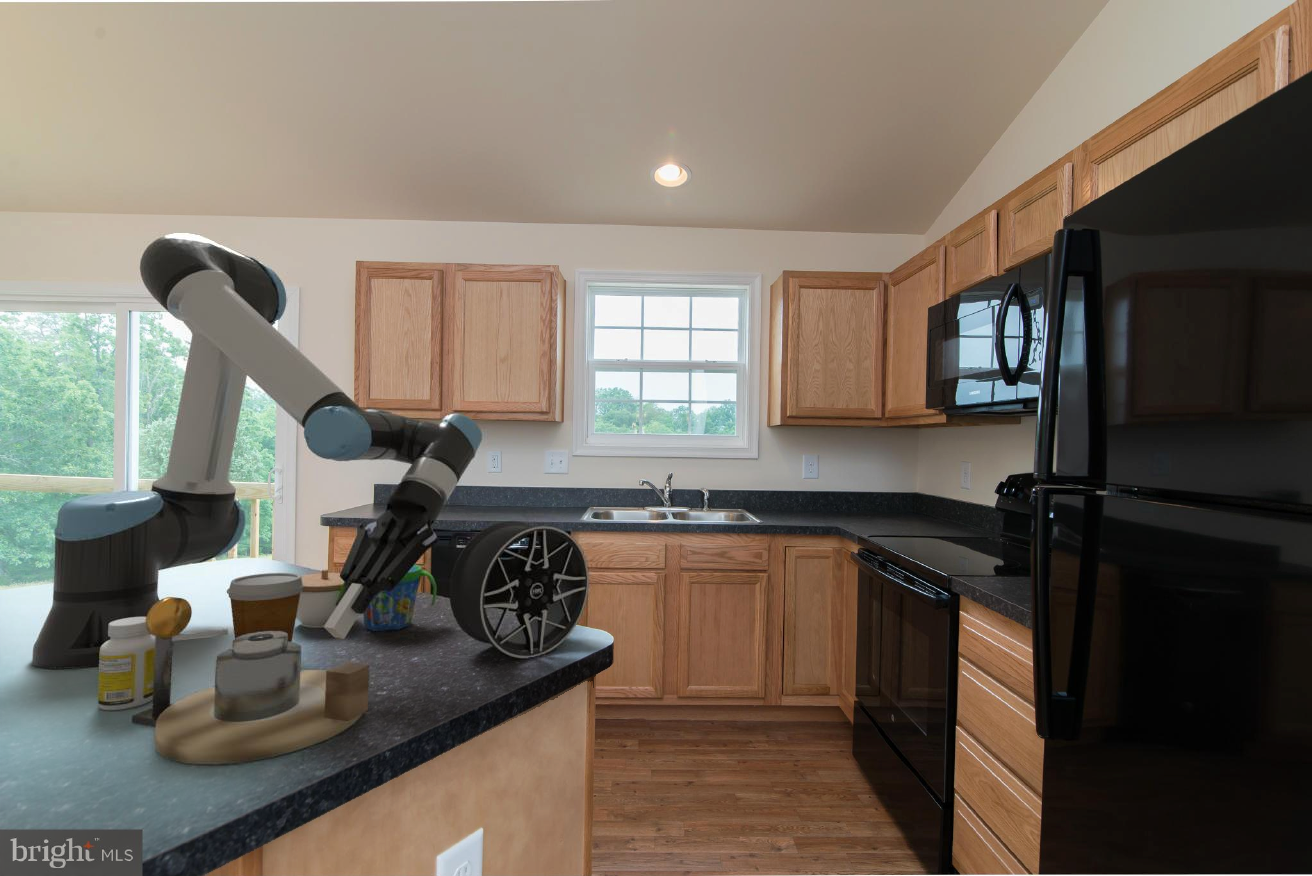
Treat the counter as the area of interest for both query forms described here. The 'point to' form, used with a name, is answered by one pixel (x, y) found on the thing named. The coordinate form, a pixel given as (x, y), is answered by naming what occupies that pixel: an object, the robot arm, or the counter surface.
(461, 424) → the robot arm
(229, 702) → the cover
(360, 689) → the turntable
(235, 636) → the disposable coffee cup
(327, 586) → the lidded jar
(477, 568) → the wheel rim
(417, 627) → the counter surface
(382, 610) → the snack cup
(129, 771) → the counter surface
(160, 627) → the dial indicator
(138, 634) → the supplement bottle
